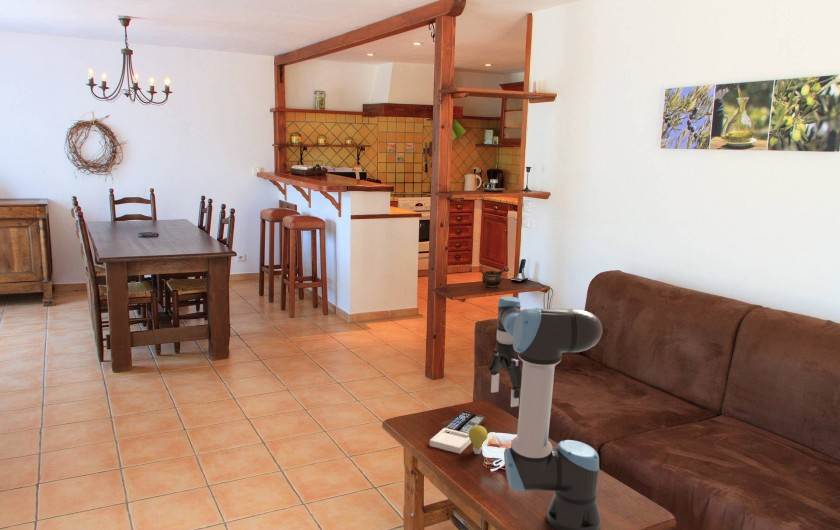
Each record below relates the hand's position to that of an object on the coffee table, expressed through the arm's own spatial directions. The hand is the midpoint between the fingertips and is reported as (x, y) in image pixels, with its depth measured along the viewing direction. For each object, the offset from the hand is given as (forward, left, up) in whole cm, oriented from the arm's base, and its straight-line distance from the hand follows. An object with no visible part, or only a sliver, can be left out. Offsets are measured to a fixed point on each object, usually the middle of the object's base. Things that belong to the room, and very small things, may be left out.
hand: (504, 398), depth 225 cm
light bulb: (-6, +7, -20) cm, 22 cm away
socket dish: (-4, +18, -19) cm, 27 cm away
